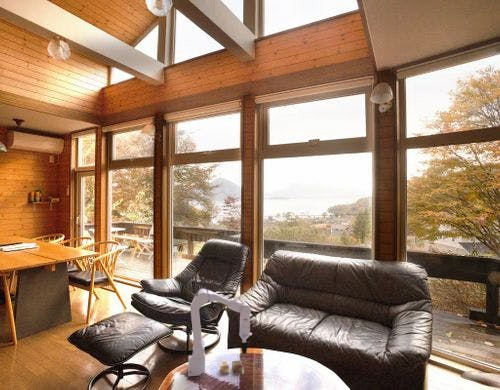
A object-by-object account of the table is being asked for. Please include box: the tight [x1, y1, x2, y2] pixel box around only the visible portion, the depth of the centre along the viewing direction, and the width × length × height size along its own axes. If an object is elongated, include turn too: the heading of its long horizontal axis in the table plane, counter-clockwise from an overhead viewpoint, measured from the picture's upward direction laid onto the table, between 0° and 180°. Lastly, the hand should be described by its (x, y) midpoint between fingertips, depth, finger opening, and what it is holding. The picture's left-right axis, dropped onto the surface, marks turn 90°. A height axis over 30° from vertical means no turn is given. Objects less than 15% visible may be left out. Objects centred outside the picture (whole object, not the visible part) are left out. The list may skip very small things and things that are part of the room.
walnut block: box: [231, 360, 243, 373], centre depth 165 cm, size 5×5×4 cm
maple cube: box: [219, 360, 230, 374], centre depth 164 cm, size 4×4×4 cm
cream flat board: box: [229, 366, 245, 375], centre depth 165 cm, size 11×8×1 cm
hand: (244, 350), depth 169 cm, fingers open, 7 cm apart
